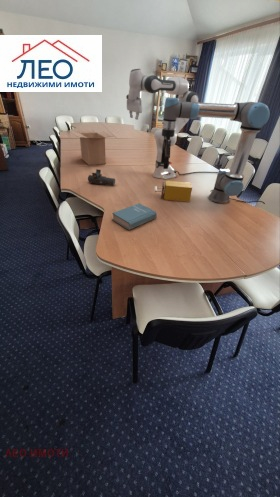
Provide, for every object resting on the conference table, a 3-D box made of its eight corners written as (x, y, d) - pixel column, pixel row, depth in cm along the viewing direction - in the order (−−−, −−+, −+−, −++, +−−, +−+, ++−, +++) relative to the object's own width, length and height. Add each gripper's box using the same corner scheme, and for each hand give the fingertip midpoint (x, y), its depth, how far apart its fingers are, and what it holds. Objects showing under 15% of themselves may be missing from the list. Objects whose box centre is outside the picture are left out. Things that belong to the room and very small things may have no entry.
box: (116, 165, 229) (116, 136, 213) (83, 168, 214) (80, 137, 198) (102, 154, 259) (101, 128, 243) (71, 156, 244) (68, 129, 228)
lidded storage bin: (163, 199, 167) (165, 185, 161) (163, 194, 176) (165, 180, 170) (189, 201, 167) (192, 187, 160) (187, 196, 175) (190, 182, 169)
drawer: (153, 197, 168) (155, 185, 162) (154, 192, 175) (155, 181, 170) (185, 199, 167) (187, 188, 162) (184, 195, 175) (186, 183, 169)
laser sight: (112, 187, 180) (112, 175, 174) (86, 184, 183) (85, 171, 177) (115, 183, 187) (115, 171, 181) (90, 180, 190) (89, 168, 184)
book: (138, 209, 150) (139, 203, 147) (156, 219, 142) (156, 212, 139) (112, 220, 137) (112, 212, 134) (129, 230, 128) (130, 223, 125)
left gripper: (145, 98, 156) (143, 120, 164) (132, 96, 170) (132, 116, 179) (137, 97, 153) (136, 120, 162) (125, 95, 168) (124, 116, 176)
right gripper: (160, 125, 141) (156, 159, 153) (165, 132, 121) (160, 171, 133) (171, 126, 141) (167, 160, 154) (178, 132, 121) (172, 171, 134)
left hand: (133, 118), depth 170 cm, fingers open, 8 cm apart
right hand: (164, 165), depth 144 cm, fingers open, 13 cm apart
